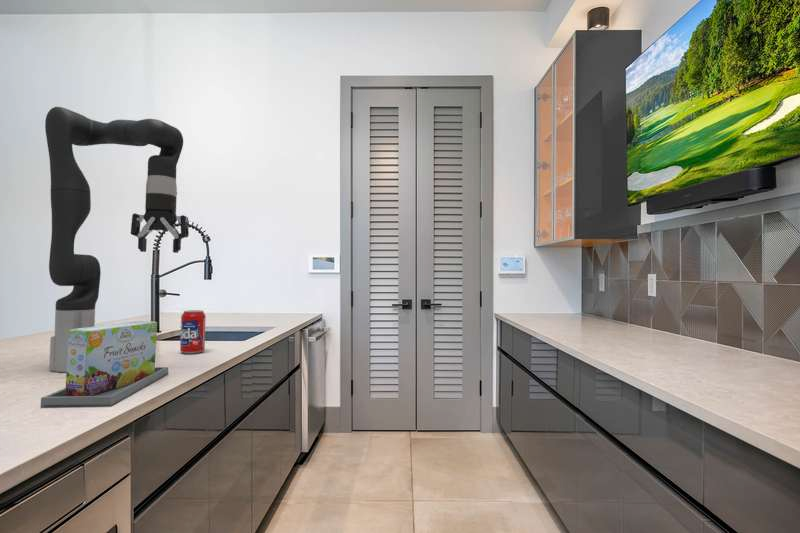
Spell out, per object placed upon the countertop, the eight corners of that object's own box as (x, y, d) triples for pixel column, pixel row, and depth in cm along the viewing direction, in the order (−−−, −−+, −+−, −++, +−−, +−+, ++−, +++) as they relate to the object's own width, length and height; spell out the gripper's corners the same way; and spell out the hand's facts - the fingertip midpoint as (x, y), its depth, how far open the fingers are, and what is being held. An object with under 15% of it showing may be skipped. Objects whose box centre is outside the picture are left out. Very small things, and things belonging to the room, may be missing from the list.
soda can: (209, 351, 156) (210, 310, 156) (194, 355, 148) (195, 311, 148) (190, 350, 158) (191, 309, 158) (174, 353, 150) (176, 311, 150)
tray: (40, 407, 89) (40, 397, 89) (115, 374, 118) (116, 367, 118) (111, 406, 91) (111, 396, 91) (168, 374, 120) (168, 367, 120)
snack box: (85, 399, 94) (88, 330, 94) (63, 397, 95) (66, 329, 95) (156, 377, 115) (158, 320, 115) (137, 375, 115) (139, 319, 116)
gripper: (127, 190, 115) (125, 250, 115) (183, 192, 117) (181, 252, 116) (140, 195, 122) (138, 252, 122) (193, 197, 124) (191, 253, 124)
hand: (159, 252), depth 119 cm, fingers open, 8 cm apart
